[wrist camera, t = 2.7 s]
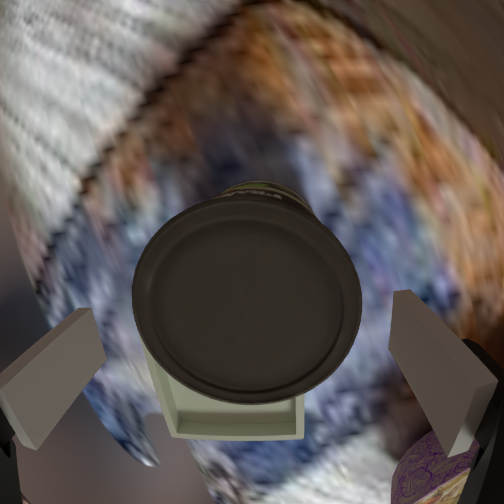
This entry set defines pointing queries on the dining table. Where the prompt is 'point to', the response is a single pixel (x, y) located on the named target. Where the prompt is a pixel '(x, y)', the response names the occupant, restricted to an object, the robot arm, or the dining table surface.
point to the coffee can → (247, 296)
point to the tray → (223, 413)
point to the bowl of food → (430, 473)
